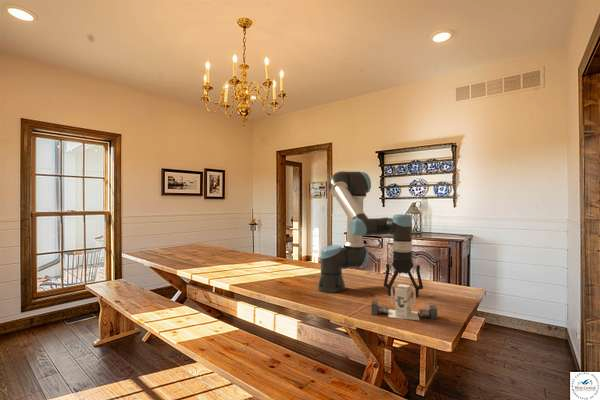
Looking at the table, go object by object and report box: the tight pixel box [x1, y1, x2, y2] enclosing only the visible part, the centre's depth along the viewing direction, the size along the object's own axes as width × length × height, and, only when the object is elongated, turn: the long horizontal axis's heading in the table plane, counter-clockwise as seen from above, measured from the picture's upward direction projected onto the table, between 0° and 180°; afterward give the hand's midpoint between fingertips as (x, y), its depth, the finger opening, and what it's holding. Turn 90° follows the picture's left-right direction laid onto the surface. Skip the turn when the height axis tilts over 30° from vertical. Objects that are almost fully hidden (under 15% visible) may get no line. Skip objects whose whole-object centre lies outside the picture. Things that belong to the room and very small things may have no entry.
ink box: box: [394, 283, 412, 318], centre depth 134 cm, size 9×5×12 cm, turn 151°
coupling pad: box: [388, 309, 420, 321], centre depth 134 cm, size 12×9×1 cm
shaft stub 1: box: [370, 299, 388, 316], centre depth 136 cm, size 6×5×4 cm
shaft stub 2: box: [418, 304, 438, 321], centre depth 131 cm, size 6×5×4 cm
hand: (403, 304), depth 134 cm, fingers open, 8 cm apart
